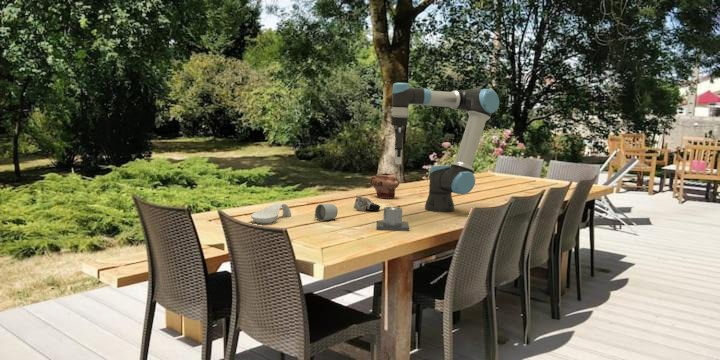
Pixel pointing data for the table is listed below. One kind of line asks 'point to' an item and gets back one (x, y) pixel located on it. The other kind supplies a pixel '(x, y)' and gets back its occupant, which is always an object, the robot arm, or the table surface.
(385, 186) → the decorative planter
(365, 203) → the caster wheel
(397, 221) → the tube
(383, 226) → the shaft block
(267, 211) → the spoon rest
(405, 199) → the table surface
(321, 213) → the ceramic mug
